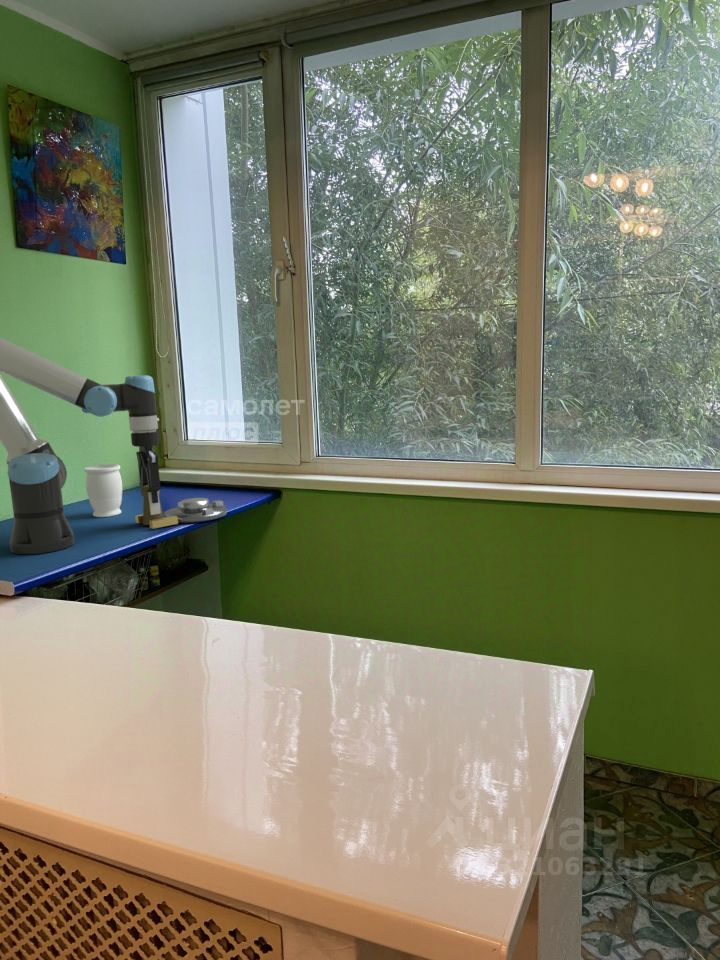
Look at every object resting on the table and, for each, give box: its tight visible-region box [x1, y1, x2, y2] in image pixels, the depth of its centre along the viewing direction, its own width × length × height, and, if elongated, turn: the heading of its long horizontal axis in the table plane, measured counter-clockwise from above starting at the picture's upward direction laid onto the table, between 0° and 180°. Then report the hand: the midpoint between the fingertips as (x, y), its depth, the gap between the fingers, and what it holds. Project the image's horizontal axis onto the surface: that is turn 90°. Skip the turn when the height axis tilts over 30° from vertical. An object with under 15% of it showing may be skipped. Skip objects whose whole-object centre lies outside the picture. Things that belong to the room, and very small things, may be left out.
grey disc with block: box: [134, 497, 227, 530], centre depth 206 cm, size 25×18×4 cm
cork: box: [140, 485, 164, 526], centre depth 200 cm, size 6×6×11 cm
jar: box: [83, 463, 123, 518], centre depth 216 cm, size 11×10×15 cm
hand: (152, 512), depth 201 cm, fingers closed on cork, 5 cm apart
